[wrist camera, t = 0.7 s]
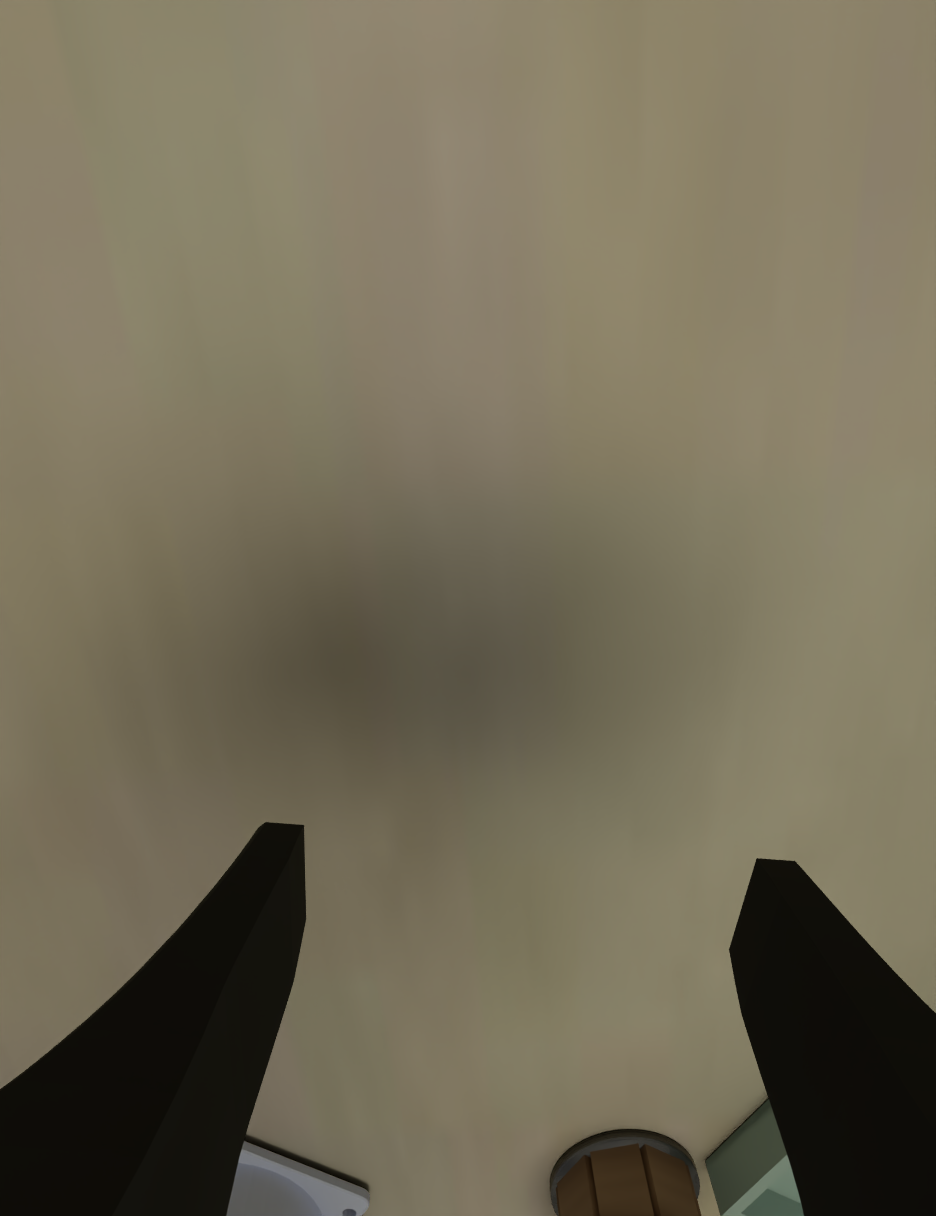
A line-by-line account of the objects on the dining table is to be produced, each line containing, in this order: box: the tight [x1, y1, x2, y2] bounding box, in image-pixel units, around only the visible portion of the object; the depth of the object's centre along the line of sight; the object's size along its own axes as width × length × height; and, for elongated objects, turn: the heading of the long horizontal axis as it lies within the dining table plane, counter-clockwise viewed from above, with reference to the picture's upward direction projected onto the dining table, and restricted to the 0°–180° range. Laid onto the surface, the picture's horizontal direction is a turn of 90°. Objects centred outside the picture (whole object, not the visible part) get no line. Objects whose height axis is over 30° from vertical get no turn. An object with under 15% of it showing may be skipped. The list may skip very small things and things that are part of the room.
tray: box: [705, 1099, 804, 1216], centre depth 30 cm, size 9×9×2 cm
